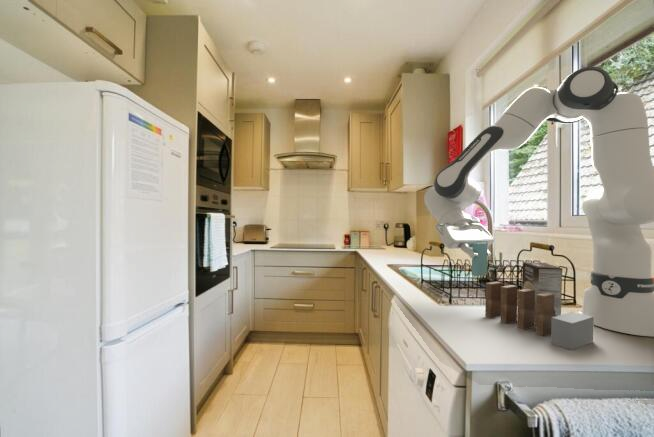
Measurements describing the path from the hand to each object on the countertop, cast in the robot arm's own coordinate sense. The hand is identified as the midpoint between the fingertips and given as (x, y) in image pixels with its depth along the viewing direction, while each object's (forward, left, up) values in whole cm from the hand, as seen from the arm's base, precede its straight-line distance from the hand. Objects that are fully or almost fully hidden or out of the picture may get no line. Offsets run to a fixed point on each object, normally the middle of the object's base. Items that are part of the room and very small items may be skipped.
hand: (481, 256), depth 87 cm
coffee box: (-10, +11, -18) cm, 23 cm away
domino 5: (0, +17, -17) cm, 25 cm away
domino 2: (0, +4, -17) cm, 18 cm away
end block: (0, +23, -17) cm, 29 cm away
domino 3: (0, +8, -17) cm, 19 cm away
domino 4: (0, +13, -17) cm, 22 cm away
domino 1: (0, -1, -6) cm, 6 cm away
